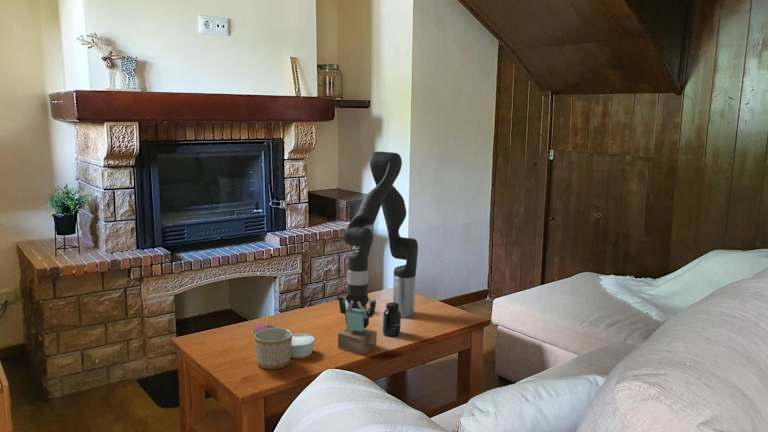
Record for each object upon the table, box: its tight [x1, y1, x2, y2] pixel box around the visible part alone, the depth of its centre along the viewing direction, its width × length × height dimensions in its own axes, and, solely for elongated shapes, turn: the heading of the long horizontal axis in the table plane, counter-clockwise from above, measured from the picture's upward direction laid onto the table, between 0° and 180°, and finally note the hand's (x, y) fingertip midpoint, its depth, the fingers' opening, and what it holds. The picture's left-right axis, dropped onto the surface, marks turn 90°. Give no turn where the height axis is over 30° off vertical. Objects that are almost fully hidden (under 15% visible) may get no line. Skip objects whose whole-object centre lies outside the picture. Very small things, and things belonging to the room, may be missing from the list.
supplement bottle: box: [382, 301, 402, 337], centre depth 234 cm, size 7×7×12 cm
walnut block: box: [337, 327, 378, 356], centre depth 221 cm, size 10×10×6 cm
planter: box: [253, 327, 293, 370], centre depth 205 cm, size 13×13×10 cm
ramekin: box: [290, 333, 316, 359], centre depth 214 cm, size 11×11×5 cm
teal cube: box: [345, 309, 365, 332], centre depth 220 cm, size 6×6×6 cm
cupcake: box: [252, 312, 276, 336], centre depth 222 cm, size 9×8×12 cm
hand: (357, 325), depth 220 cm, fingers closed on teal cube, 6 cm apart
